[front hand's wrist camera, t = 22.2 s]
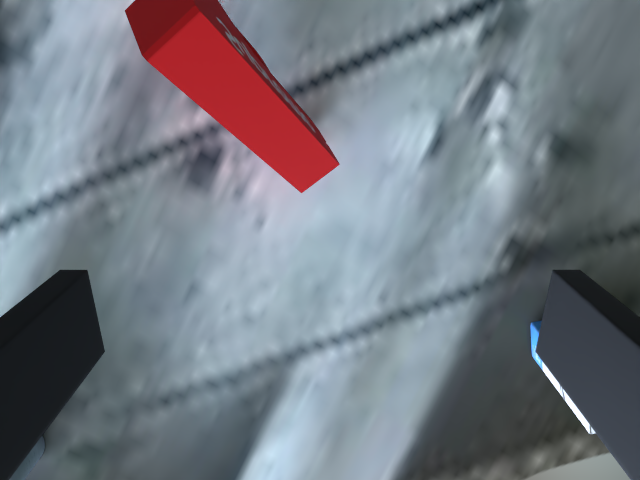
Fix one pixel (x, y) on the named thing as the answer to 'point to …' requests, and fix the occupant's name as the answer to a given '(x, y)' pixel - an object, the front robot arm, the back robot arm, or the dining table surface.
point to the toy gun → (230, 84)
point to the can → (29, 461)
